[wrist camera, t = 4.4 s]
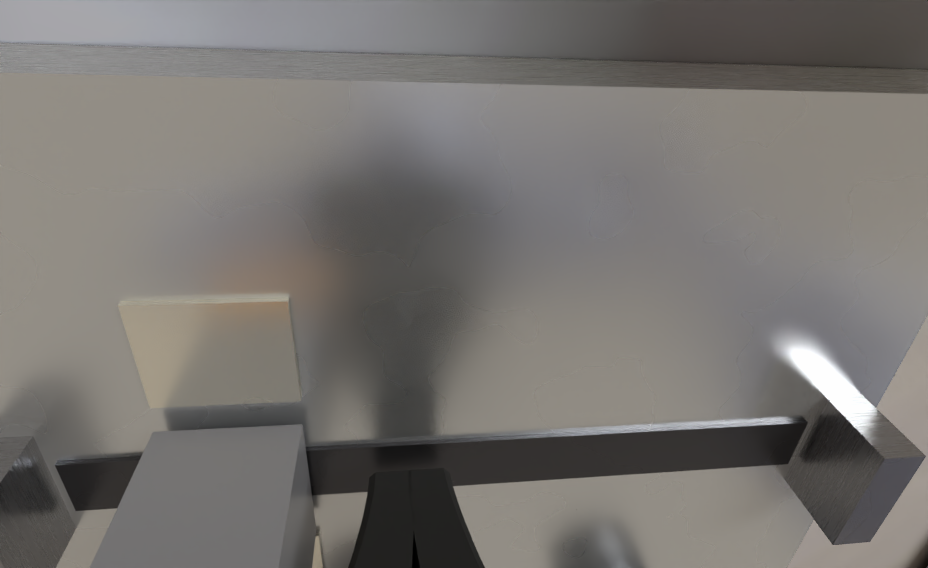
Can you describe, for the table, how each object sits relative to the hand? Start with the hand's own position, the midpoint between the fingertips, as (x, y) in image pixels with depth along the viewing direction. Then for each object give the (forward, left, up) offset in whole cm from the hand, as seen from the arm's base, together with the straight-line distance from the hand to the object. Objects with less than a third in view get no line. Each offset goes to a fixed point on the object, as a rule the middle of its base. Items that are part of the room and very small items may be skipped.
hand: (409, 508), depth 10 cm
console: (0, -1, -3) cm, 3 cm away
